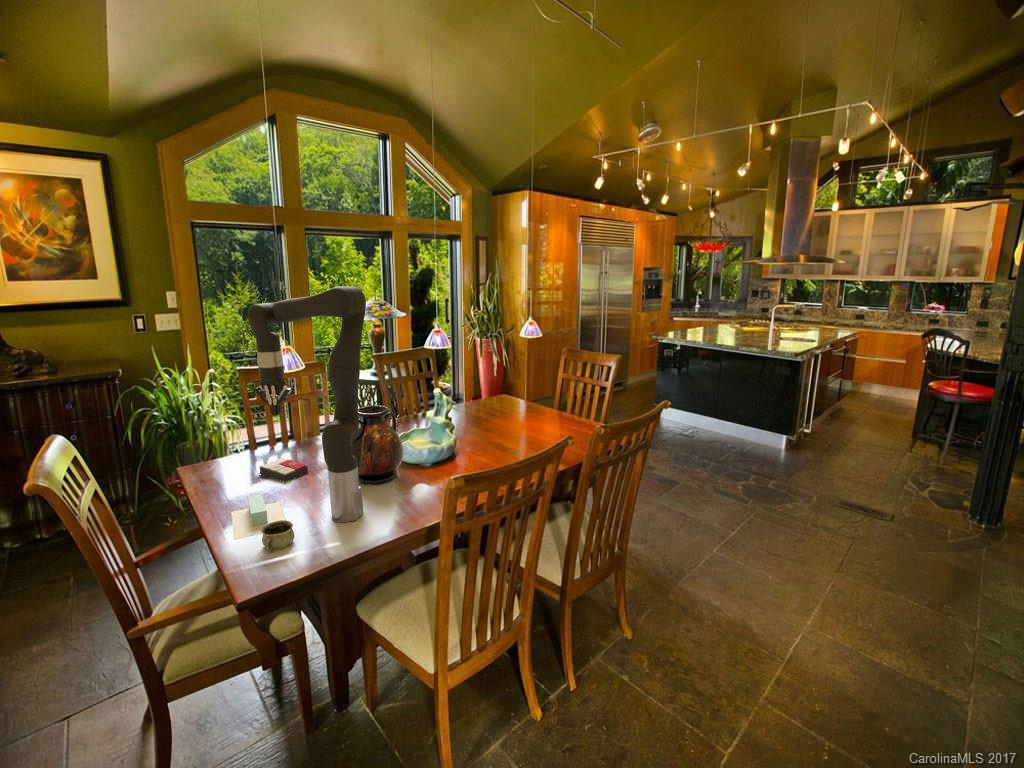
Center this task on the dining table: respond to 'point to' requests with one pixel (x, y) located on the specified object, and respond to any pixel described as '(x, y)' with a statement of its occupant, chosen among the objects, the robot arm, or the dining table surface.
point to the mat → (244, 523)
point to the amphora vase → (377, 446)
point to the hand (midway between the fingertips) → (276, 414)
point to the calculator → (283, 469)
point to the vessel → (277, 535)
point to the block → (257, 510)
